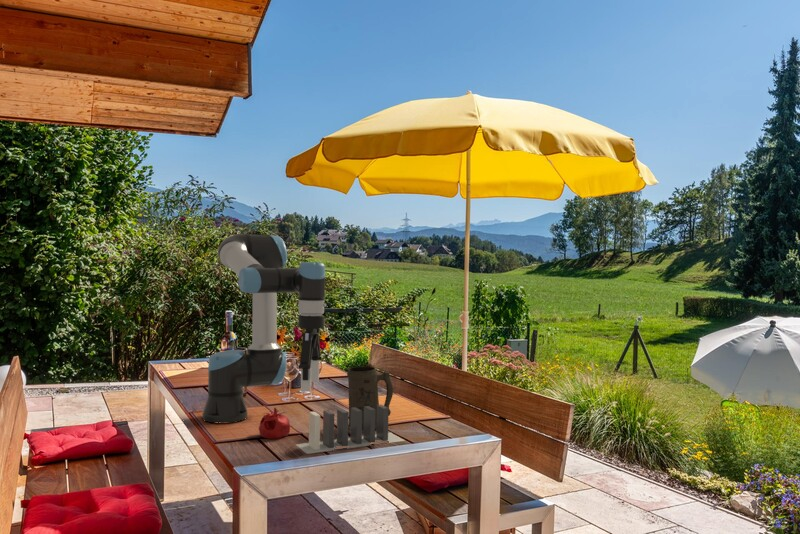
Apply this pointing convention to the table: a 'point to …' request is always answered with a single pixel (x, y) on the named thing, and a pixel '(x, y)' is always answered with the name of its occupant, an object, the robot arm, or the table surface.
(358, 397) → the beer stein
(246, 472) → the table surface
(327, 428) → the domino
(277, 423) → the pomegranate
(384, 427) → the domino
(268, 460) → the table surface
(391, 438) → the mat
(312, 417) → the domino
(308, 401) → the table surface
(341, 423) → the domino
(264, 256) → the robot arm
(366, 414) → the domino
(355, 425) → the domino
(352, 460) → the table surface
